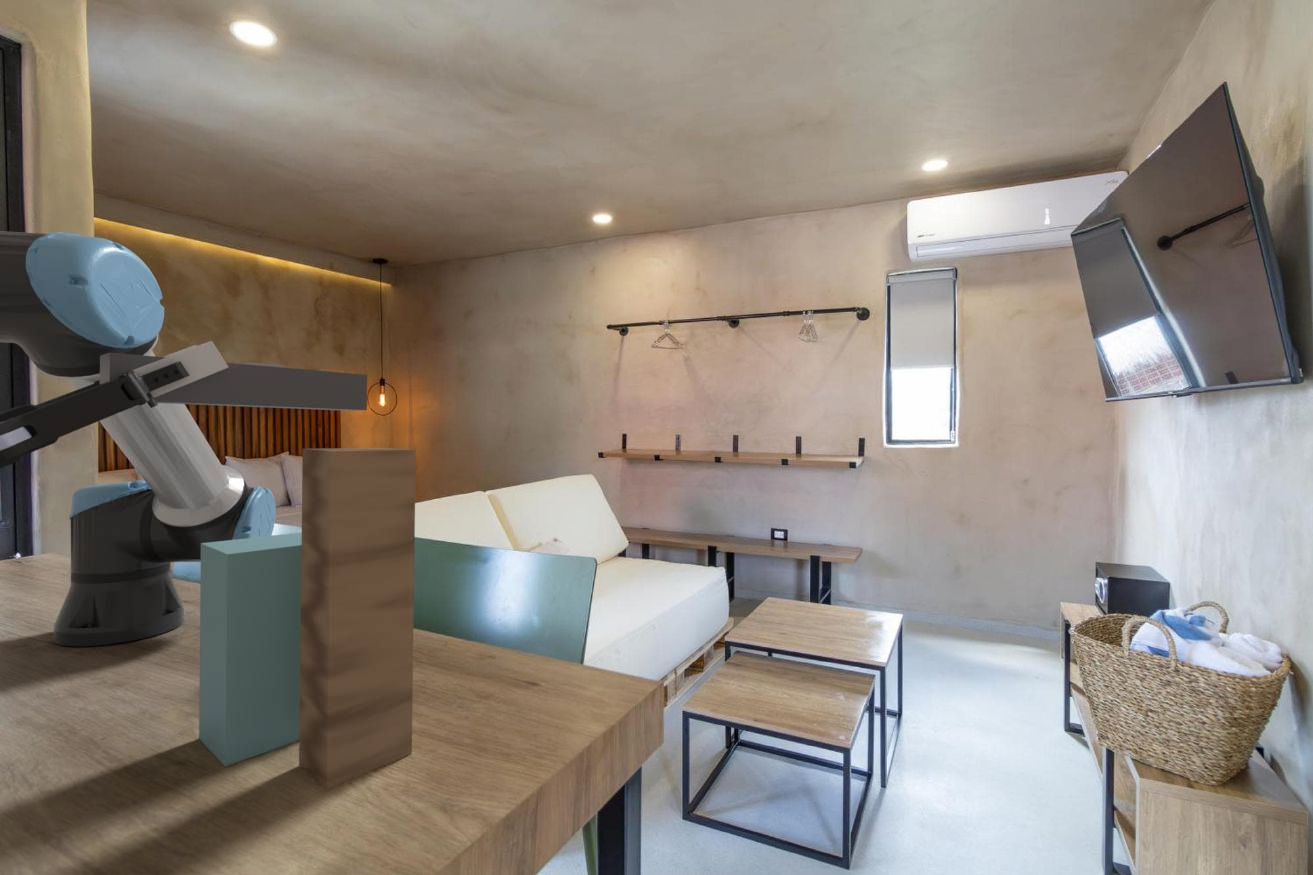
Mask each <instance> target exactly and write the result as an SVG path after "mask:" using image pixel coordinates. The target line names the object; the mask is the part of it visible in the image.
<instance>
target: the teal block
mask: <svg viewBox="0 0 1313 875" xmlns="http://www.w3.org/2000/svg"><path fill="white" fill-rule="evenodd" d="M301 546H302V531H300V532H294V533H293V532H292V533H285V534H284V533H281V534H275V535H271V536H264V537H254V538H245V539H236V540H227V541H218V542H209V543H201V562H200V581H199V582H200V590H199V591H200V595H199V598H200V599H199V600H200V603H199V607H200V609H199V610H200V611H199V683H198V684H199V689H198V690H199V692H198V696H199V697H198V698H199V700H198V706H199V708H198V739H199V740H200V741H201V742H202V743H203V744H204V746H205V747H206V748H207V749H208V750H209V751H210V752H211V753H212V754H213V756H215V757H216V758H217V759H218V760H219V761H220V763H222V764H223V765H224V766H225V767H227V766H230V765H233V764H236V763H238V762H242V761H244V760H246V759H247V760H248V759H250V758H253V757H255V756H258V755H261V754H265V753H267V752H269V751H273V750H276V749H279V748H281V747H284V746H287V745H290V744H293V743H296V742H298V741H299V721H300V634H301Z"/></svg>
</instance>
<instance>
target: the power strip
mask: <svg viewBox="0 0 1313 875" xmlns="http://www.w3.org/2000/svg"><path fill="white" fill-rule="evenodd" d="M166 356H167V355H166ZM171 356H172V355H171ZM167 357H169V356H167ZM167 357H164V356H156V355H155V356H144V355H133V354H121V353H107V354H104V355H101V356H100V384H103V383H105V382H108V381H111V380H113V379H116V378H119V376H121V375H123V374H125V373H128V372H131V373H133V372H132V370H134V369H137V368H140V367H142V366H145V365H148V364H151V363H153V362H156V361H159V360H161V359H164V358H167ZM226 364H227V365H228V368H226V369H223V370H221V371H218V372H216V373H214V374H211V375H209V376H206V377H204V378H201V379H199V380H196V381H194V382H192V383H189V384H187V385H184V386H182V387H179V388H177V389H174V390H172V391H169V392H167V393H165V394H162V395H160V396H157V397H155V398H154V399H155V400H156V402H157V403H172V404H185V405H196V406H197V405H202V406H227V407H246V408H247V407H249V408H272V409H273V408H274V409H275V408H276V409H277V408H278V409H296V410H299V409H301V410H303V409H304V410H325V411H326V410H327V411H349V412H350V411H353V412H354V411H367V408H368V375H367V374H361V373H350V372H349V373H348V372H345V370H344V369H335V368H334V369H333V368H319V370H317V369H316V370H314V369H302V368H292V367H283V364H271V363H261V362H249V361H246V362H240V363H239V362H238V363H236V362H235V363H233V362H226ZM122 391H123V390H122ZM124 394H125V393H124ZM127 398H128V397H127Z"/></svg>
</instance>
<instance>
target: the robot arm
mask: <svg viewBox="0 0 1313 875" xmlns="http://www.w3.org/2000/svg"><path fill="white" fill-rule="evenodd" d="M162 299H163V294H162V291H161V288H160V285H159V283H158V281H157V279H156V277H155V275H154V274H153V273H152V271H151V270H150V268H149V267H148V266H147V265H146V263H145V262H144V261H143V260H142V259H141V258H140V257H139V256H138V255H137V254H136V253H134V252H133V251H132V250H131V249H129V248H128V247H126V246H124V245H123V244H121V243H118V242H115V241H112V240H110V239H106V238H103V237H97V236H86V235H82V234H79V233H72V232H58V231H57V232H50V233H41V232H40V233H37V232H24V231H23V232H21V231H20V232H18V231H7V230H6V231H3V230H0V343H6V344H7V343H9V344H10V343H11V344H16V345H18V346H19V347H20V348H21V349H22V350H23V351H24V353H25V354H26V355H27V356H28V358H29V359H30V360H31V361H32V363H33V364H34V365H35V366H36V367H37V369H38V370H40V371H41V373H43V374H45V375H46V376H49V377H52V378H57V379H63V380H68V382H69V383H70V385H71V386H72V388H74V391H70V392H68V393H64V394H62V395H59V396H57V397H54V398H52V399H48V400H45V401H44V402H41V403H38V404H33V403H31V404H30V403H27V404H21V405H18V406H15V407H12V408H8V409H6V410H3V411H2V412H0V469H2V468H5V467H7V466H9V465H12V464H15V463H17V462H18V461H20V460H21V458H23V456H25V455H26V456H27V455H29V454H31V453H34V452H36V451H38V450H41V449H43V448H47V447H48V446H51V445H54V444H55V443H56V442H57V441H58V440H59V439H60V438H61V437H64V436H67V435H69V434H71V433H73V432H76V431H79V430H80V429H83V428H85V427H88V426H90V425H92V424H95V423H98V422H100V424H101V426H102V427H103V428H104V429H105V430H106V432H107V434H108V435H110V437H111V438H112V440H113V441H114V443H115V444H116V445H117V446H118V448H119V449H120V450H121V451H122V453H123V454H124V455H125V457H126V458H127V459H128V460H129V462H130V464H131V465H132V466H133V467H134V469H135V470H136V471H137V473H138V474H139V475H140V477H141V478H142V479H141V480H133V481H131V480H130V481H126V482H125V481H124V482H123V481H122V482H116V483H115V482H114V483H105V484H96V485H89V486H83V487H81V488H79V489H77V490H76V491H75V492H74V493H73V494H72V498H71V499H72V501H71V508H70V514H69V516H68V517H69V520H70V586H69V590H68V592H67V594H66V596H65V599H64V601H63V604H62V606H61V608H60V611H59V613H58V616H57V618H56V619H55V623H54V624H53V625H54V626H53V642H54V644H57V645H60V646H67V647H92V646H93V647H95V646H104V645H105V646H106V645H114V644H121V643H127V642H132V641H137V640H142V639H146V638H151V637H154V636H157V635H160V634H161V635H162V634H164V633H166V632H170V631H173V630H174V629H176V628H178V627H179V626H182V624H183V623H184V622H185V607H184V605H183V602H182V600H181V598H180V595H179V593H178V591H177V588H176V585H175V583H174V580H173V578H172V575H171V574H172V573H171V563H201V543H209V542H218V541H227V540H236V539H245V538H254V537H264V536H273V535H272V534H273V532H274V528H275V522H276V516H277V515H276V514H277V513H276V512H277V510H276V509H277V506H276V500H275V497H274V496H275V495H274V494H273V492H272V490H270V489H269V488H267V487H262V486H259V485H257V486H255V487H254V486H253V487H250V486H248V484H247V482H246V481H245V480H244V477H243V476H242V474H241V473H240V472H239V471H238V470H236V468H233V467H230V466H228V465H225V464H222V463H221V462H220V460H219V459H218V457H217V456H216V455H217V454H215V452H214V450H213V448H212V447H211V446H210V444H209V442H208V441H207V439H206V436H205V435H204V434H203V432H202V431H201V429H200V427H199V425H198V424H197V423H196V421H195V419H194V418H193V416H192V414H191V412H190V411H189V409H188V408H187V406H186V404H172V403H157V402H156V400H155V399H154V398H155V397H157V396H160V395H162V394H165V393H167V392H169V391H172V390H174V389H177V388H179V387H182V386H184V385H187V384H189V383H192V382H194V381H196V380H199V379H201V378H204V377H206V376H209V375H211V374H214V373H216V372H218V371H221V370H223V369H226V368H228V365H227V364H226V363H227V362H226V361H225V359H224V357H223V356H222V354H221V353H220V351H219V349H218V347H217V346H216V345H215V343H214V342H213V340H210V341H207V342H205V343H202V344H199V345H197V344H194V345H192V346H188V347H186V348H184V349H180V350H178V351H175V352H173V353H169V354H167V355H165V356H163V357H167V356H169V357H167V358H164V359H161V360H159V361H156V362H153V363H151V364H148V365H145V366H142V367H140V368H137V369H134V370H132V372H133V373H131V372H128V373H125V374H123V375H121V376H119V378H116V379H113V380H111V381H108V382H105V383H103V384H100V356H101V355H104V354H107V353H121V354H133V355H144V356H156V355H155V353H154V351H153V350H154V348H155V347H156V345H157V344H158V340H159V332H161V330H162V327H163V324H164V318H165V307H164V305H162V304H161V302H160V301H161V300H162ZM171 355H172V356H171ZM122 390H123V391H122ZM124 393H125V394H124ZM127 397H128V398H127Z"/></svg>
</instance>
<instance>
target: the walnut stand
mask: <svg viewBox="0 0 1313 875" xmlns="http://www.w3.org/2000/svg"><path fill="white" fill-rule="evenodd" d="M416 454H417V452H416V449H408V448H394V447H393V448H391V447H363V448H362V447H361V448H360V447H359V448H358V447H356V448H354V447H352V448H349V447H348V448H346V447H345V448H343V447H342V448H340V447H339V448H336V447H335V448H302V463H301V464H302V465H301V466H302V468H301V469H302V470H301V472H302V473H301V474H302V476H301V478H302V480H301V484H302V486H301V487H302V488H301V532H302V546H301V634H300V721H299V740H298V741H299V742H298V766H299V767H300V768H301V769H303V771H305V772H306V773H307V774H308V775H309V776H310V777H311V778H313V779H314V780H315V781H317V783H319V784H320V785H321V786H322V787H323V788H325V790H329V789H332V788H334V787H336V786H338V785H341V784H343V783H345V782H348V781H350V780H352V779H355V778H357V777H360V776H363V775H364V774H367V773H369V772H372V771H374V770H377V769H378V768H381V767H383V766H386V765H388V764H391V763H393V762H395V761H398V760H400V759H402V758H404V757H407V756H409V755H411V754H412V752H413V751H412V748H413V747H412V746H413V741H412V740H413V694H414V693H413V690H414V689H413V687H414V685H413V682H414V681H413V679H414V677H413V676H414V674H413V672H414V616H415V615H414V614H415V613H414V611H415V610H414V606H415V604H414V602H415V599H414V598H415V535H416V534H415V531H416V528H415V527H416V526H415V525H416V470H417V469H416V464H417V463H416V460H417V459H416V457H417V455H416Z"/></svg>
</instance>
